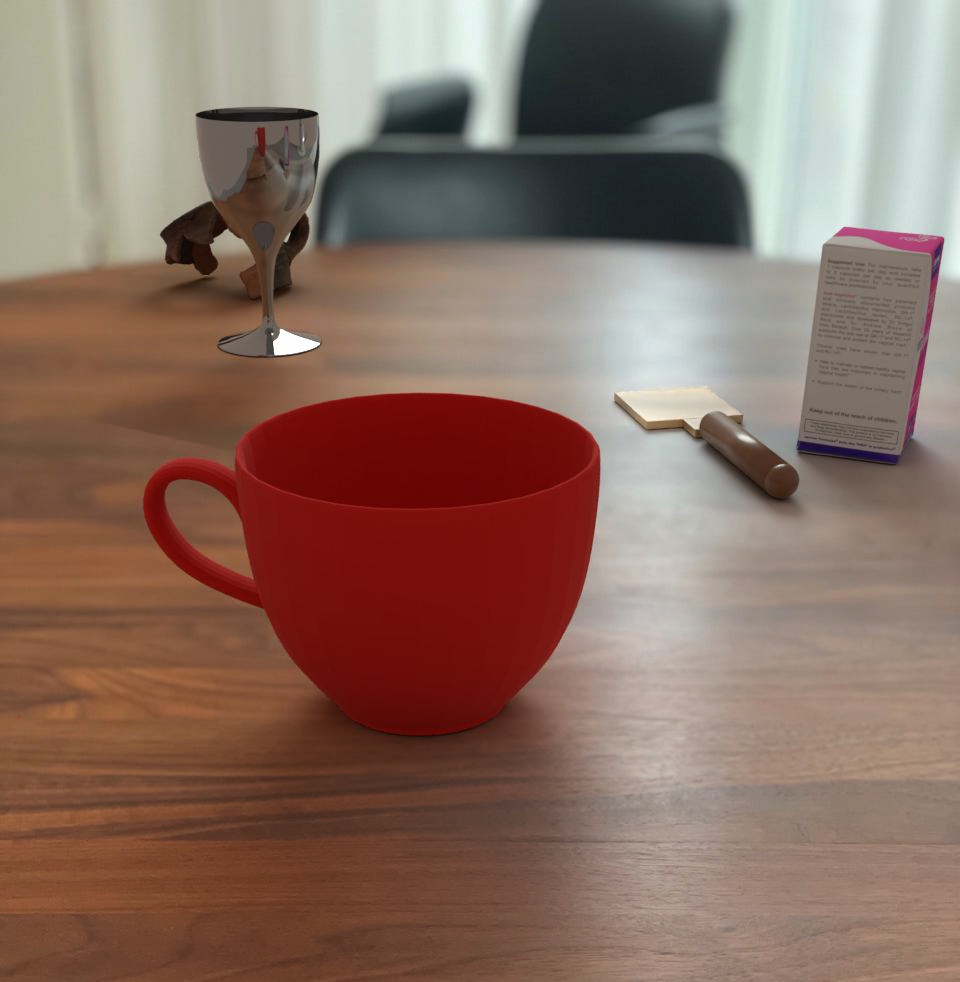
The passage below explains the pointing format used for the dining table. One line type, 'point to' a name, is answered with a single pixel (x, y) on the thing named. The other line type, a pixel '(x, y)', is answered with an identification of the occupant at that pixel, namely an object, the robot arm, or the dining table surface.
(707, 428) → the spatula
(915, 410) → the supplement box
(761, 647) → the dining table surface
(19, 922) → the dining table surface
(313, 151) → the wine glass
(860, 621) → the dining table surface
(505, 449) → the ceramic cup
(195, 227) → the brown irregular piece
